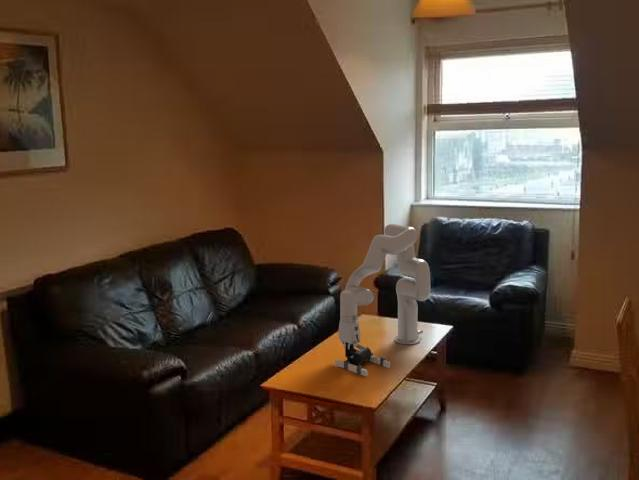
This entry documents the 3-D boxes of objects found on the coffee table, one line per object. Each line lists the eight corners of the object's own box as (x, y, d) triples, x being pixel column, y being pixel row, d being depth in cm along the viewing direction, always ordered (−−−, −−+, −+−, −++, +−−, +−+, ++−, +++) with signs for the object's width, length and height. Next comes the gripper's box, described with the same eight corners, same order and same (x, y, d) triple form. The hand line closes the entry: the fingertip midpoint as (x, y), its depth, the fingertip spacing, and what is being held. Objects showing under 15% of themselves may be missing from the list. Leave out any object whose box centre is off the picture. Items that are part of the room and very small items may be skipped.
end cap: (358, 369, 296) (363, 356, 294) (345, 361, 299) (349, 348, 297) (368, 362, 305) (373, 349, 302) (355, 354, 308) (359, 342, 305)
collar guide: (362, 355, 311) (362, 348, 311) (392, 366, 298) (392, 358, 297) (333, 365, 300) (333, 358, 299) (363, 377, 286) (363, 369, 285)
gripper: (366, 319, 298) (366, 358, 301) (343, 312, 309) (343, 350, 313) (354, 323, 293) (354, 363, 297) (331, 315, 304) (331, 354, 308)
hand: (349, 356), depth 305 cm, fingers closed
